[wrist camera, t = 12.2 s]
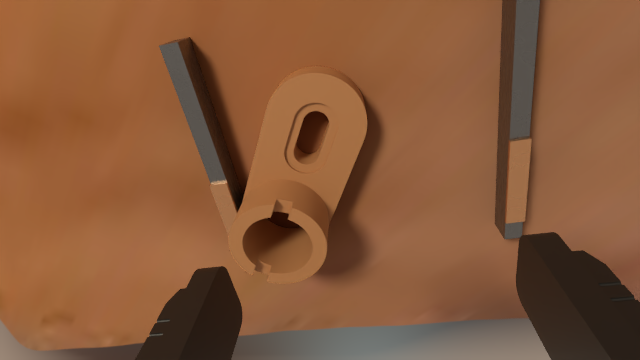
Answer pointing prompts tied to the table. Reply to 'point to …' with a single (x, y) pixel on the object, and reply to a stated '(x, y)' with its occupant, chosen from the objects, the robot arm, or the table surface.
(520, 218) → the guide rails
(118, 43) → the table surface
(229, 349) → the robot arm
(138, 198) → the table surface
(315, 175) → the bracket
